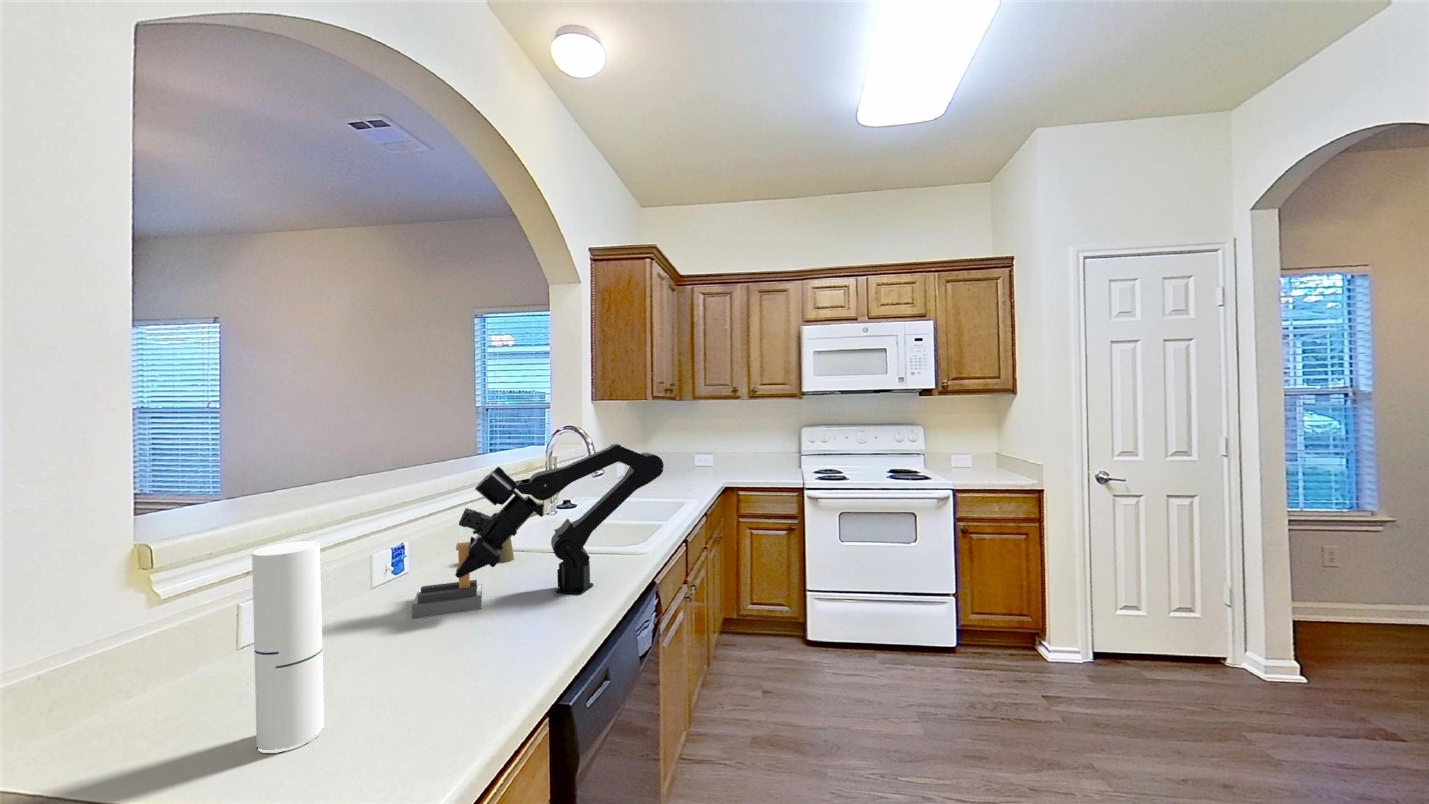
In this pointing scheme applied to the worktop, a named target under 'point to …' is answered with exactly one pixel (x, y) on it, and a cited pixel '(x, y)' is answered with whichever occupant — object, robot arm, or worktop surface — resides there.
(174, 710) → the worktop surface
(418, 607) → the grey slotted base
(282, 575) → the cylindrical container
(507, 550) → the cork
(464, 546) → the handle
